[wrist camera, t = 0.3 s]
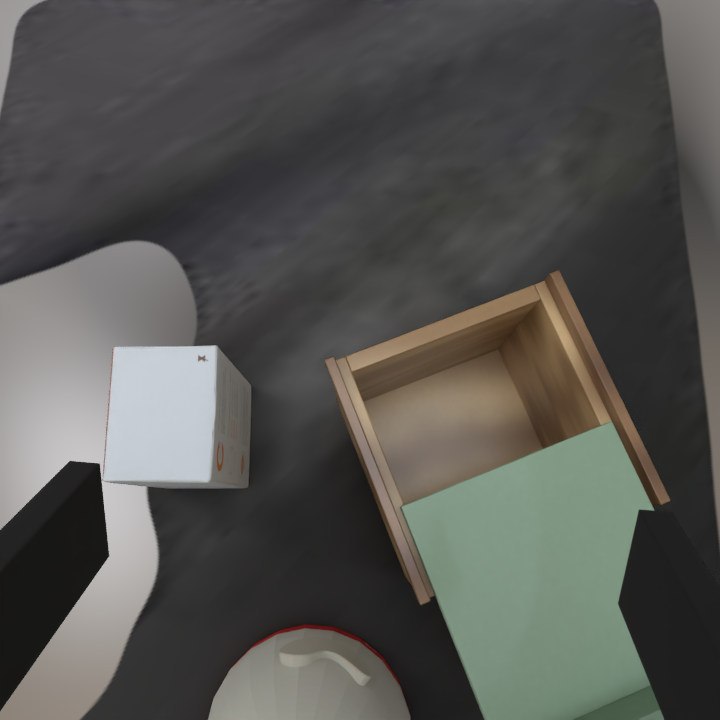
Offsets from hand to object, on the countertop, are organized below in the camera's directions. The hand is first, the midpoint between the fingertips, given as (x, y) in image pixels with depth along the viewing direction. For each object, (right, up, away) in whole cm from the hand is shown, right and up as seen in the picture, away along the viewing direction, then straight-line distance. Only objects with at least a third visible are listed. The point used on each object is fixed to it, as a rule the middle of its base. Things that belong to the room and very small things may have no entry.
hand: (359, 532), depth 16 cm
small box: (-11, -2, +35) cm, 37 cm away
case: (+7, -3, +35) cm, 35 cm away
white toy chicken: (-3, -22, +30) cm, 37 cm away
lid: (+11, -8, +19) cm, 23 cm away
